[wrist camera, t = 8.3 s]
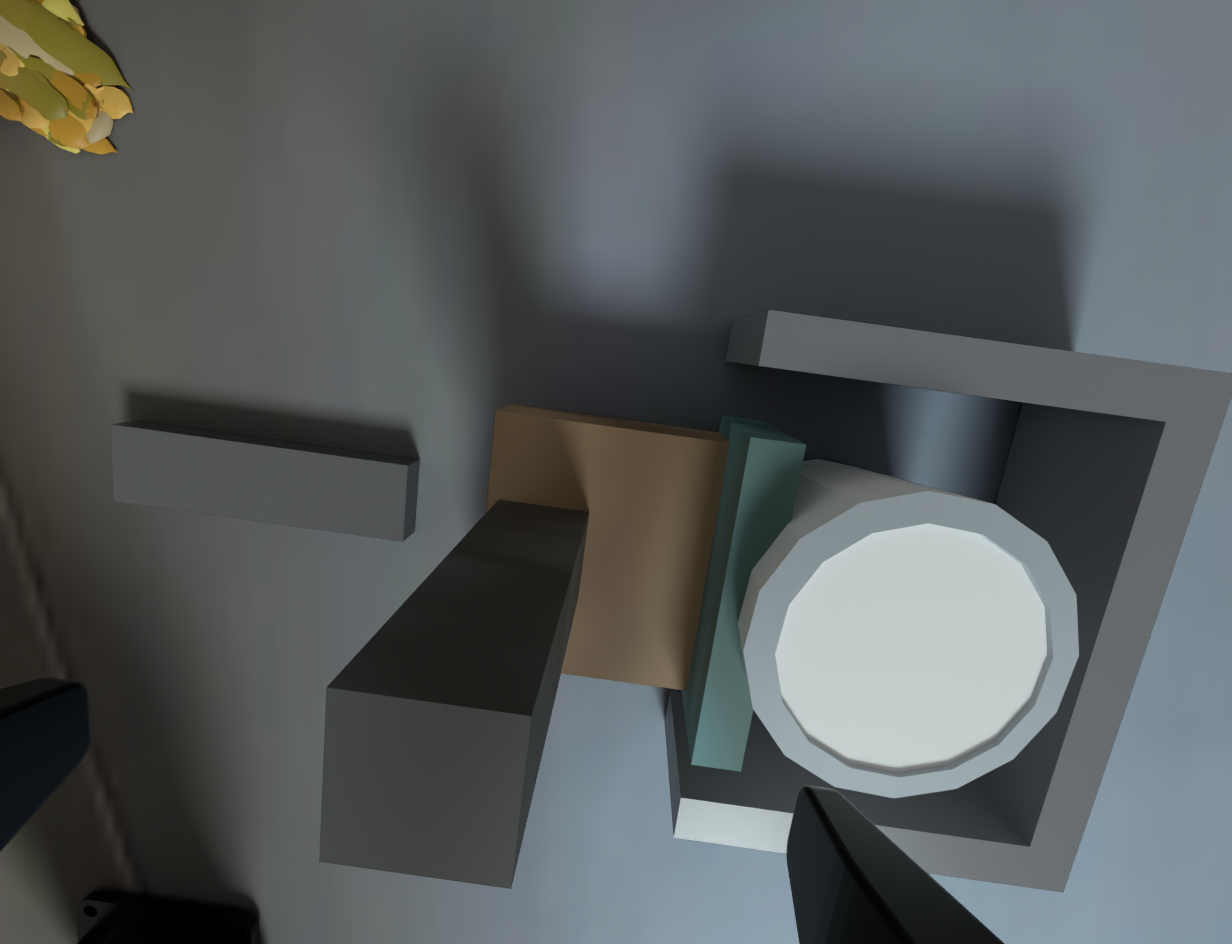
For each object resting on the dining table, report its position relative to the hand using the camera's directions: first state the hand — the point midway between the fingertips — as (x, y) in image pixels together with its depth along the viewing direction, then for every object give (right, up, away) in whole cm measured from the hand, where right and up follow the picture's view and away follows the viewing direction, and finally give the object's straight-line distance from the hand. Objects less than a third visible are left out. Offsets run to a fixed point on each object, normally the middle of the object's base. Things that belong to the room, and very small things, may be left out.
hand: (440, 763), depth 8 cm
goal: (+9, +1, +12) cm, 15 cm away
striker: (+2, +2, +10) cm, 11 cm away
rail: (-9, +3, +12) cm, 15 cm away
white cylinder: (+8, +1, +12) cm, 15 cm away
